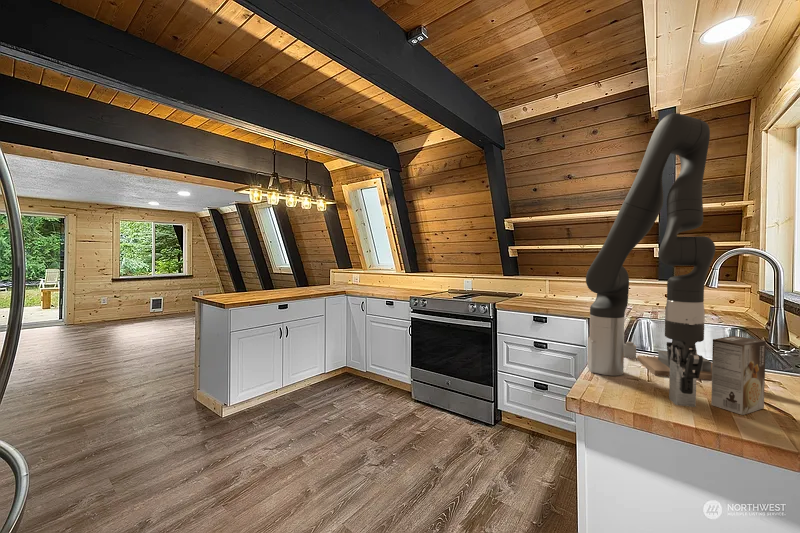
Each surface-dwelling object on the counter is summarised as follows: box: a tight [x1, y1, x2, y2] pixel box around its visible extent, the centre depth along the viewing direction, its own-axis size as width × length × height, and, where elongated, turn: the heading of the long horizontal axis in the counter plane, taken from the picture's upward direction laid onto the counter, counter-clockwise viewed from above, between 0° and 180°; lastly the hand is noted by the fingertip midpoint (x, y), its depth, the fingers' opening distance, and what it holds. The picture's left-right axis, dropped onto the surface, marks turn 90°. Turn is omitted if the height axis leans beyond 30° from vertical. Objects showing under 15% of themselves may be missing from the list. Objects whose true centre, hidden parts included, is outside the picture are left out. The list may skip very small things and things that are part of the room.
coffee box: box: [710, 335, 767, 416], centre depth 86 cm, size 9×6×16 cm
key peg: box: [668, 359, 697, 408], centre depth 89 cm, size 4×4×10 cm
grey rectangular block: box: [624, 341, 637, 359], centre depth 129 cm, size 7×2×8 cm, turn 55°
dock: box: [636, 349, 712, 381], centre depth 114 cm, size 20×16×4 cm
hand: (682, 389), depth 89 cm, fingers closed on key peg, 4 cm apart
